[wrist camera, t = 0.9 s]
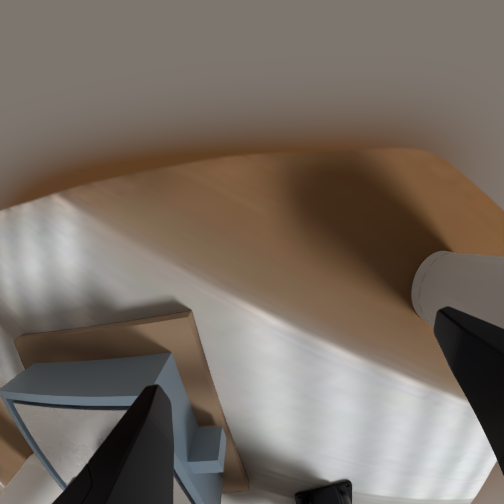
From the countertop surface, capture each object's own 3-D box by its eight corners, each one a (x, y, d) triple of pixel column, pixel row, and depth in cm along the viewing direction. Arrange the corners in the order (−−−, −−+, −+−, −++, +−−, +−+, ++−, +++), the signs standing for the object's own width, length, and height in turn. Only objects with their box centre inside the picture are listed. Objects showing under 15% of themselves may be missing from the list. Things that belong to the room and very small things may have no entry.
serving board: (248, 480, 24) (248, 490, 23) (97, 477, 25) (93, 485, 23) (192, 310, 22) (188, 316, 20) (21, 334, 22) (13, 339, 21)
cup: (393, 262, 22) (500, 300, 10) (462, 228, 21) (568, 239, 9) (411, 345, 22) (494, 417, 11) (475, 307, 22) (563, 348, 10)
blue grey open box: (245, 477, 22) (244, 523, 16) (96, 474, 23) (78, 508, 17) (199, 348, 21) (183, 392, 15) (34, 363, 21) (-3, 390, 15)
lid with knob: (201, 512, 17) (194, 560, 12) (83, 499, 17) (65, 534, 12) (141, 404, 16) (109, 462, 10) (16, 399, 16) (-21, 432, 11)
